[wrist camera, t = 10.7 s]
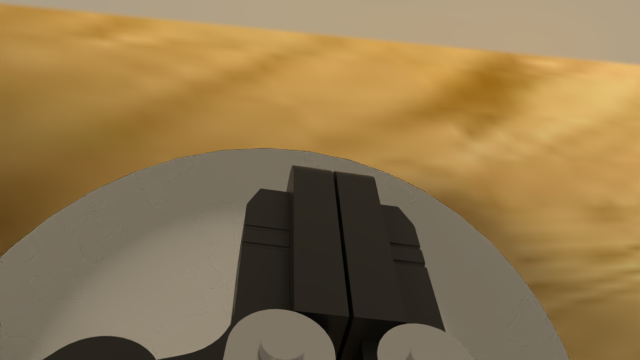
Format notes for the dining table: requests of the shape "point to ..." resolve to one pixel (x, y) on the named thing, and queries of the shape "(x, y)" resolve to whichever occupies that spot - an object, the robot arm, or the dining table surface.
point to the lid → (230, 262)
